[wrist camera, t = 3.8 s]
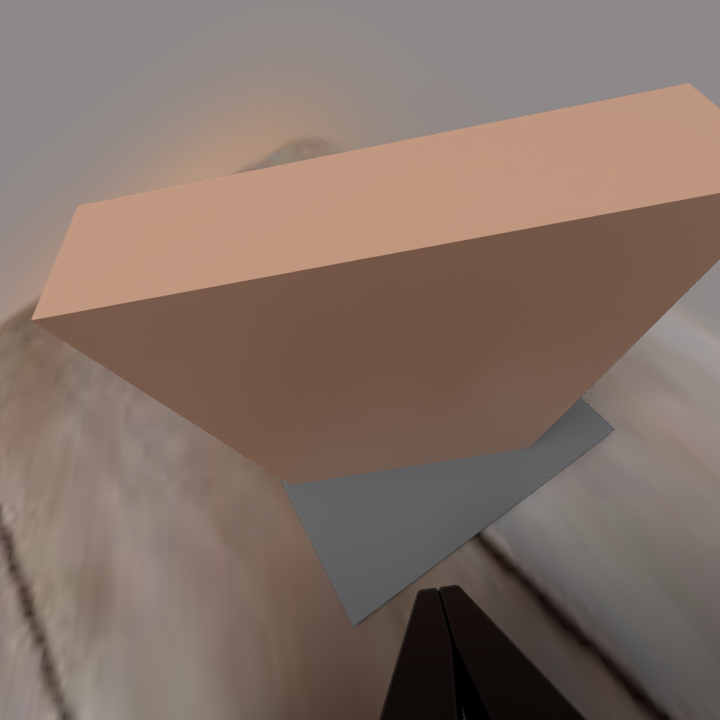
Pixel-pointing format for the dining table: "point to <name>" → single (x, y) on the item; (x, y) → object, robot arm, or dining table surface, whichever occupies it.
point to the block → (400, 283)
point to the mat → (425, 509)
